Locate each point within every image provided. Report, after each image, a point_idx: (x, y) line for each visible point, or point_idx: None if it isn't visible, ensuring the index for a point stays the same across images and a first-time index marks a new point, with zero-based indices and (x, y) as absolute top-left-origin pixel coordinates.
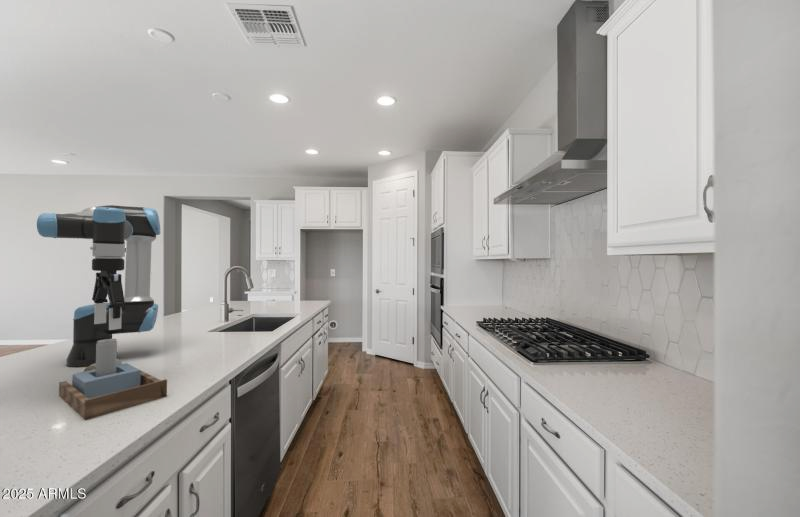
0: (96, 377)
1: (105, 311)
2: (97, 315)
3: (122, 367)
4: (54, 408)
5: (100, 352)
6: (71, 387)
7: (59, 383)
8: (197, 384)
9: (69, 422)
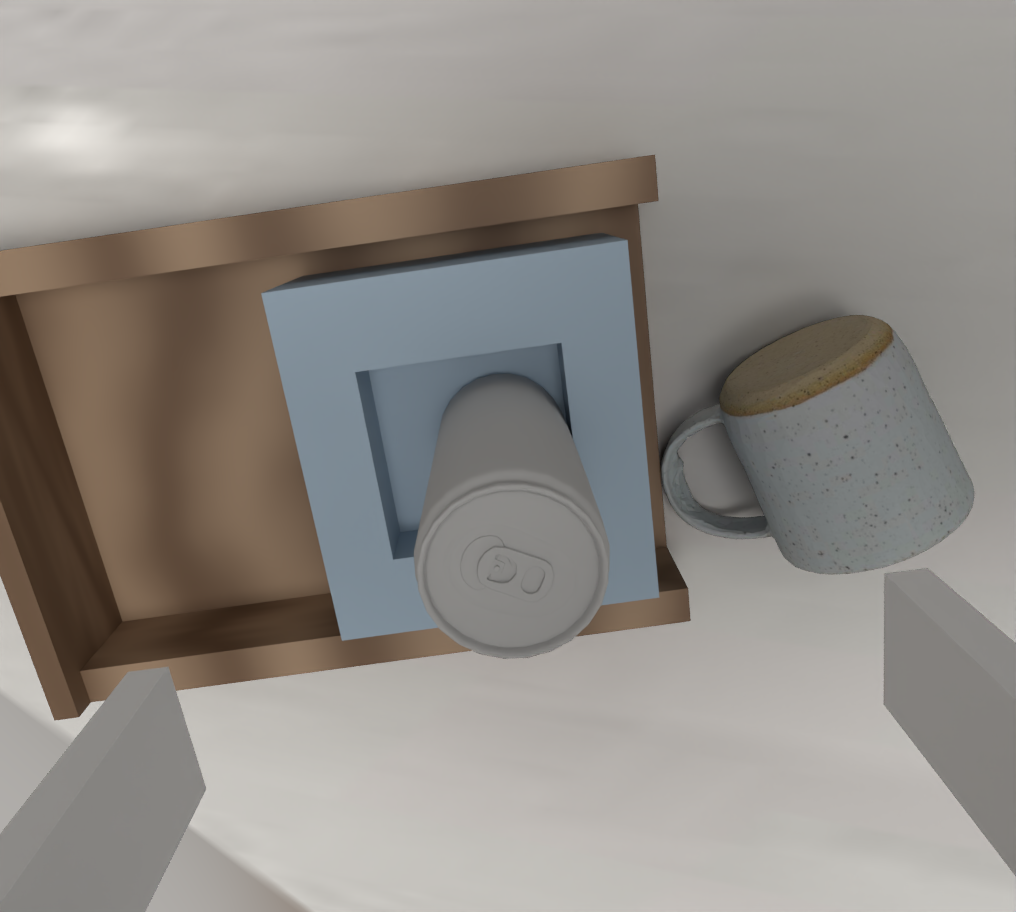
0: (355, 376)
1: (1008, 852)
2: (973, 691)
3: None
4: (445, 130)
5: (445, 469)
6: (430, 220)
7: (644, 156)
8: (295, 816)
9: (93, 188)
